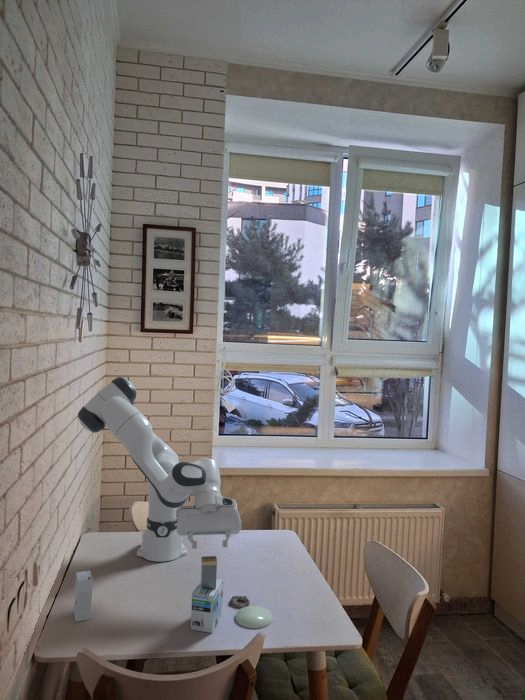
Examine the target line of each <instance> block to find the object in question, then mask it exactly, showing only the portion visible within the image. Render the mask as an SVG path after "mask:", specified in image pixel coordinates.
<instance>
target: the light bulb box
mask: <svg viewBox="0 0 525 700" xmlns="http://www.w3.org/2000/svg"><path fill="white" fill-rule="evenodd" d="M223 603H224V580H223V579H217V578H216V589H201V580H200V581H199V582H198V584H197V585H196V587H195V588H194V589H193V590H192V592H191V610H190V611H191V612H190V613H191V616H190V617H191V618H190V630H191V631H197V632H204V633H209V634H212V633H214V631H215V629H216V627H217V626H218V624H219V622H220V620H221V618H222V617H223V609H224V607H223V605H224V604H223Z"/></svg>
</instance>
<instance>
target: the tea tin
mask: <svg viewBox="0 0 525 700" xmlns="http://www.w3.org/2000/svg"><path fill="white" fill-rule="evenodd" d="M200 561H201V562H200V563H201V565H200V568H201V569H200V581H201V589H216V579H217V572H218V571H217V568H218V567H217V566H218V558H217V556H216V555H213V556H211V555H210V556H205V555H204V556H201V559H200Z"/></svg>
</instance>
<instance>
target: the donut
mask: <svg viewBox="0 0 525 700" xmlns="http://www.w3.org/2000/svg"><path fill="white" fill-rule="evenodd" d="M229 604H230V606H231V607H233V608H235V609H241V608H243V607H247V606H250V604H251V603H250V600H249V598H248V597H247V595H235V596H232V597H231V598H230V600H229Z"/></svg>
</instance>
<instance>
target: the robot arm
mask: <svg viewBox="0 0 525 700" xmlns="http://www.w3.org/2000/svg"><path fill="white" fill-rule="evenodd" d="M136 398H137V390H136V388H135V386H134V384H133V383H132V382H131V381H129V380H128V379H126V378H124V377H121V376H118V377H116V378H114V379H113V380H111V382H109V383H107V385H105V386H104V387H102V388H101V389H100V390H99V391H97V392H96V394H94V396H92V398H90V400H88V402H87V403H86V404H85V405H83V406H82V407H81V408H80V410H79V411H78V413H77V418H78V421H79V423H80V425H81V426H82V428H84V430H86V431H88V432H90V433H91V432H92V434H93V433H99V432H101V431H103V430H105V427H107V428H108V430H109V431H110V432H111V434H112V435H113V437H115V438H116V439H117V441H118V442H119V443H120V444H121V445H122V446H123V447H124V448H125V449H126V450H127V452H128V454H129V456H130V458H131V460H132V461H133V462H134V464H135V466H137V468H138V469H139V471H140V472H141V473H142V475H144V477H145V478H146V480H147V481H148V510H147V511H148V516H147V517H146V529H145V530H144V532H142V534H141V538H142V539H141V540H142V541H141V546H140V547H139V548H138V550H137V551H136V555H135V556H137V557H141V558H143V559H146V560H147V561H151V562H156V563H157V562H159V563H160V562H161V563H163V562H170V561H174V560H176V559H178V558H180V557H181V556H185V555H187V554H188V550H187V548H186V546H185V545H184V543H183V542H184V540H183V536H187V539H188V540H189V542H190V543H191V549H192V550H193V549H197V547H198V541H197V540H194V538H193V537H194V536H207V535H208V536H211V535H212V536H213V535H214V536H215V535H225V539H222V542H221V545H222V548H226V549H227V548H228V547H229V546H228V544H229V542H228V541H229V539H230V538H231V535H238V534H239V533H240V532H241V530H242V519H241V516H240V512H239V510H238V509H237V508H236V506H237V504H236V503H237V502H236V500H235V499H231V498H228V497H225V496H222V493H221V485H222V482H221V481H222V480H221V473H220V468H219V466H218V464H217V462H216V461H215V460H214V459H212V458H210V457H201V458H199V459H197V460H196V461H195V460H194V461H192V462H191V461H190V462H187V461H181V462H180V458H179V456H178V454H177V453H176V452H175V451H174V450H173V449H172V448H171V447H170V446H169V445H168V444H167V443H166V442H164V440H162V439H161V438H160V437H159V436H157V435H156V434H155V433H154V431H153V427H152V424H151V422H150V421H149V420H148V418H147V417H146V416H145V415H144V414H143V413H142V412H141V411H140V410H139V409H138V408H137V407H135V405H134V404H135V403H134V402H135V400H136ZM190 495H193V496H194V497H193V498H194V505H184V504H185V503H186V501H187V500H188V498H189V496H190Z"/></svg>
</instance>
